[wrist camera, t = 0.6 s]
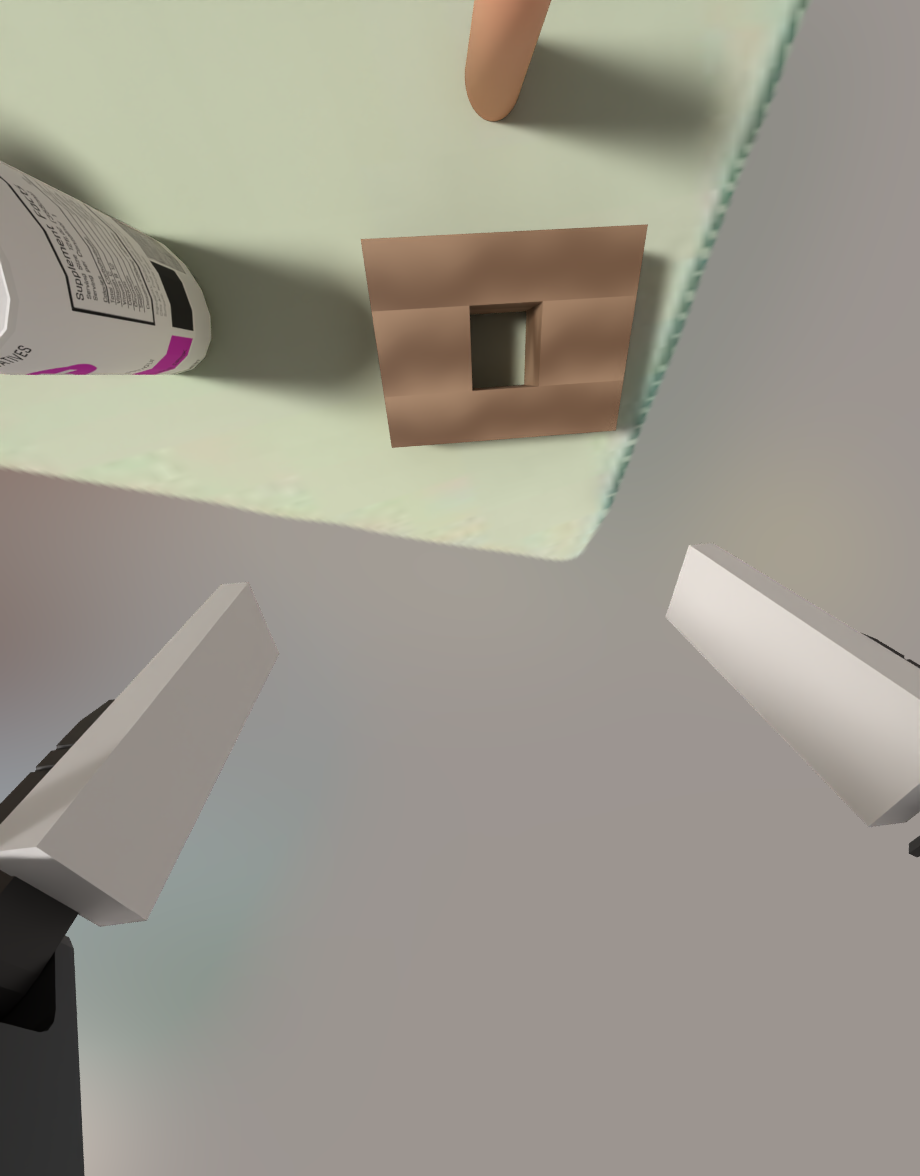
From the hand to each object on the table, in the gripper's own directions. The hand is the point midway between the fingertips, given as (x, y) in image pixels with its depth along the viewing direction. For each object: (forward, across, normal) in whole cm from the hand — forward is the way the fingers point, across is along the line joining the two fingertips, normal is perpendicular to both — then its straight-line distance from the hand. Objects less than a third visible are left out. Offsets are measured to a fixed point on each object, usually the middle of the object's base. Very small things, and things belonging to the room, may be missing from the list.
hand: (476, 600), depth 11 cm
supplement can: (+26, -20, +11) cm, 34 cm away
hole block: (+25, +5, +7) cm, 27 cm away
